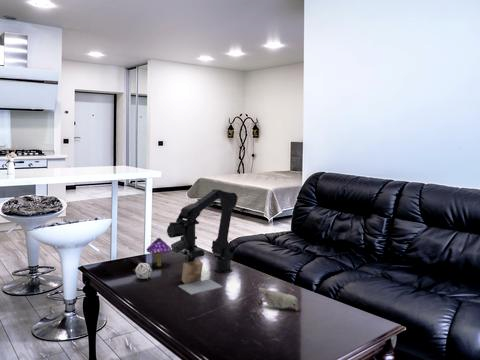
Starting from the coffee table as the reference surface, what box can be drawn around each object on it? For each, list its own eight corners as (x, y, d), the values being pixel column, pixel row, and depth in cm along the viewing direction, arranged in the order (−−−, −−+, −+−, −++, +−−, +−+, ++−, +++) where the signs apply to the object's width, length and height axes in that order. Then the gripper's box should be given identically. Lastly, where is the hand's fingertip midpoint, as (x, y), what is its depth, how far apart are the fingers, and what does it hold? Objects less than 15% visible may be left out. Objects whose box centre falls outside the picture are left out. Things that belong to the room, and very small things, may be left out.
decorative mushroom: (162, 261, 221) (162, 233, 219) (176, 266, 212) (175, 238, 210) (142, 266, 212) (141, 237, 211) (154, 271, 203) (154, 242, 202)
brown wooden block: (196, 276, 194) (199, 259, 191) (200, 280, 191) (202, 263, 188) (181, 280, 189) (183, 262, 187) (185, 284, 186) (187, 266, 184)
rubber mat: (209, 279, 192) (209, 278, 192) (223, 287, 182) (223, 286, 182) (178, 286, 183) (178, 285, 183) (191, 294, 173) (191, 294, 173)
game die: (147, 285, 194) (159, 267, 196) (141, 285, 186) (154, 266, 188) (132, 274, 196) (145, 257, 198) (126, 274, 188) (139, 255, 190)
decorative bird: (297, 314, 156) (297, 294, 155) (256, 308, 160) (256, 289, 160) (299, 308, 161) (300, 289, 160) (259, 303, 166) (260, 285, 165)
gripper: (164, 232, 193) (164, 265, 194) (182, 240, 177) (182, 276, 179) (185, 229, 199) (185, 261, 200) (205, 237, 184) (204, 271, 185)
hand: (189, 267), depth 191 cm, fingers closed
